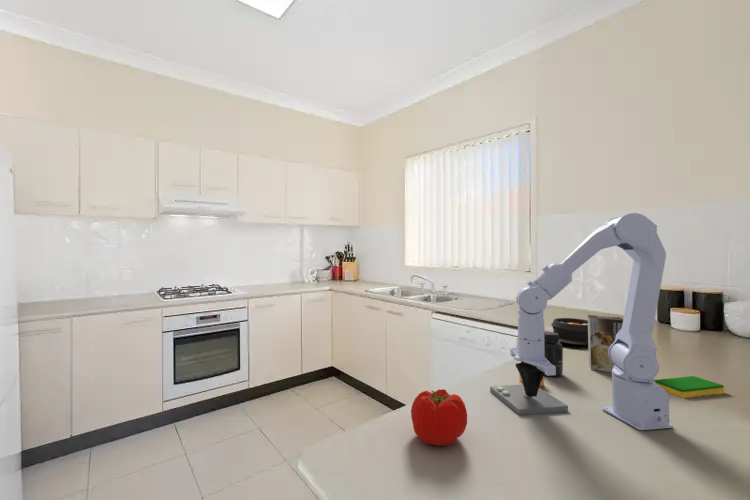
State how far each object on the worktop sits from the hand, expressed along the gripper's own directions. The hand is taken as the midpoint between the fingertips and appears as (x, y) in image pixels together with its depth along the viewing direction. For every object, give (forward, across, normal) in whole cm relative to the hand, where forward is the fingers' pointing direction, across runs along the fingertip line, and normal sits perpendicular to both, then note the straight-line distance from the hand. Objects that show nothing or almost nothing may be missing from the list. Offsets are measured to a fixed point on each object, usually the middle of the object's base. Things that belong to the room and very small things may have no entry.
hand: (531, 395), depth 79 cm
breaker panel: (+2, -2, 0) cm, 3 cm away
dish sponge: (+3, -1, +46) cm, 46 cm away
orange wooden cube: (+2, -12, +8) cm, 15 cm away
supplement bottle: (+2, -18, +18) cm, 26 cm away
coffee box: (+2, -19, +38) cm, 43 cm away
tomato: (+2, +11, -27) cm, 29 cm away
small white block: (+1, -2, 0) cm, 2 cm away
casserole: (+2, -50, +53) cm, 72 cm away
